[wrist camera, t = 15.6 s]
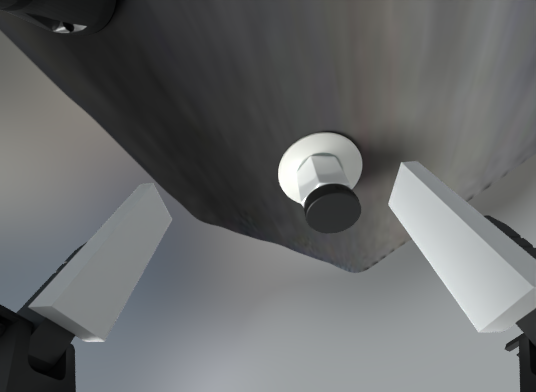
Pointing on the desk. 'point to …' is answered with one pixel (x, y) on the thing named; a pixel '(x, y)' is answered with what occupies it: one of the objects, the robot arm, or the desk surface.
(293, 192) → the plate
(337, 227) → the jar
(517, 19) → the desk surface
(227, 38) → the desk surface
